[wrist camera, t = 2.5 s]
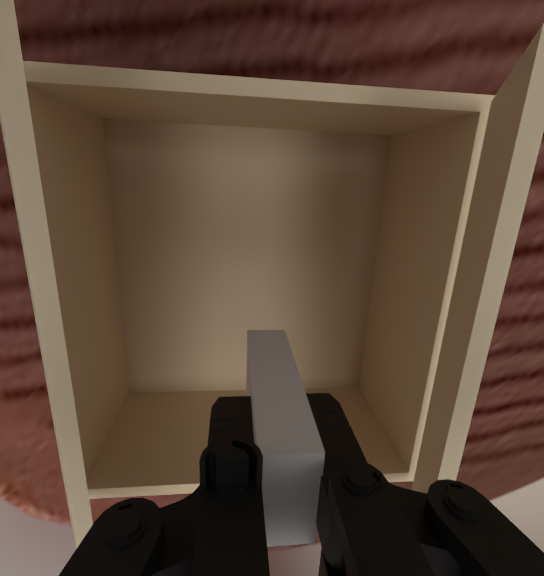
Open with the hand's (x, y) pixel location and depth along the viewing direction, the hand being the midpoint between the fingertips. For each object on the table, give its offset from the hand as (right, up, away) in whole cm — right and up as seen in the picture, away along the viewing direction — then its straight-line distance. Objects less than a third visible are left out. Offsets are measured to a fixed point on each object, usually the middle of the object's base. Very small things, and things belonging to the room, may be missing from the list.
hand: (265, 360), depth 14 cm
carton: (-1, +4, +13) cm, 14 cm away
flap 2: (+9, +1, +4) cm, 10 cm away
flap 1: (-10, +1, +2) cm, 11 cm away
